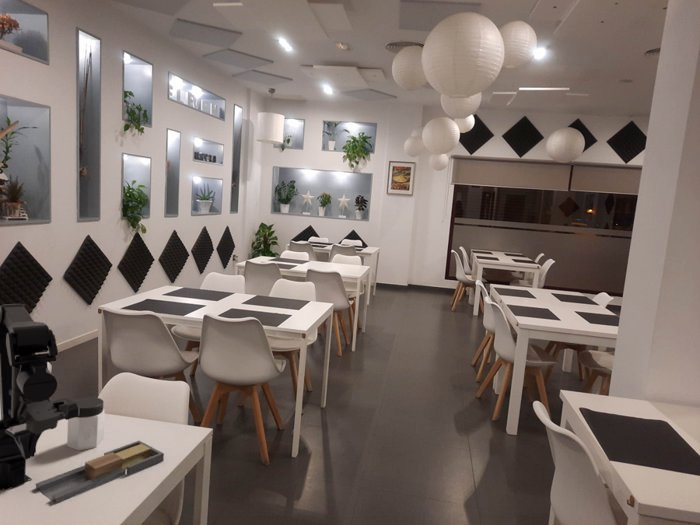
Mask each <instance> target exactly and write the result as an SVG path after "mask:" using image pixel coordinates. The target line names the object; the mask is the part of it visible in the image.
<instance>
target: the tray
mask: <svg viewBox="0 0 700 525" xmlns="http://www.w3.org/2000/svg"><path fill="white" fill-rule="evenodd" d="M140 444H143V445H145V446H146V447H148V448H150V457H149V458H147V459H144V460H142V461H139V462H137V463H134V464H132V465H129V466H127V469H126V475H127V476H131V475H133V474H136V473H138V472H140V471H143V470H145V469H148V468H150V467H152V466H154V465H155V466H156V465H157V464H159V463H162V462H164V460H165V459H164V455H165V453H164V452H162V451H160V450H158V449H156V448H154V447H152V446H150V445H148V444H147V443H145V442H143V441H141V440H137V441H135V442H131V443H129V444H125V445H123V446H119V447H118V448H114V449H112V450H110V451H107V452H103V456H104V455H106V454H109V453H112V452H113V453H114V454H115V453H118V452H121V451H123V450H126V449H129V448H132V447H134V446H137V445H140Z"/></svg>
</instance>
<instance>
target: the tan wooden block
mask: <svg viewBox="0 0 700 525" xmlns="http://www.w3.org/2000/svg"><path fill="white" fill-rule="evenodd" d="M129 450H130V451H132V452H134V453H136V454H137V460H136V463H137V462H139V461H142V460H144V459H147V458H149V457H151V456H150V448H148V447H146V446H145V445H143V444H140V445H137V446H134V447H132V448H129Z"/></svg>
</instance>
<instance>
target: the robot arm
mask: <svg viewBox="0 0 700 525" xmlns="http://www.w3.org/2000/svg"><path fill="white" fill-rule="evenodd" d="M27 307H28V306H27V304H23V303H10V304H8V303H7V304H2V305H0V491H6V490H9V489H13V488H16V487H18V486H21V485H24V484H25V483H27V482H30V481H32V480H33V479H32V478H31V477H30V476H28V475H27V474H26V470H27V468H26V467H27V465H26V464H27V460H28V459H31V458H33V457H35V454H36V452H37V445H38V444H37V443H38V441H39V439H40V438H41V436H42V434H43V433H44V432H45V431H47V430H54V429H56V428H57V426H58V422H59V421H63V420H66V421H68V419H71V418H75V417H78V416H79V413H80V408H79V405H78V404H77V403H75V402H73V401H74V400H71V399H69V398H68V397H64V398H61V399H56V400H52V401H50V398H51V397H52V396H53V395H54V394H55V393H56V391H57V388H58V382H57V379H56V377H55V376H54V374H53V373H52V372H51V371H50V370H49V368H48V363H50V362H51V363H52V362H56V361H57V356H58V353H59V350H58V346H57V339H56V335H55V334H54V332H53V330H52V329H50V327H49V325H47V324H46V323H44V322H40V321H35V320H34V319H33V317H32V316H31V315H30V313H29V312H28V308H27Z"/></svg>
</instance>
